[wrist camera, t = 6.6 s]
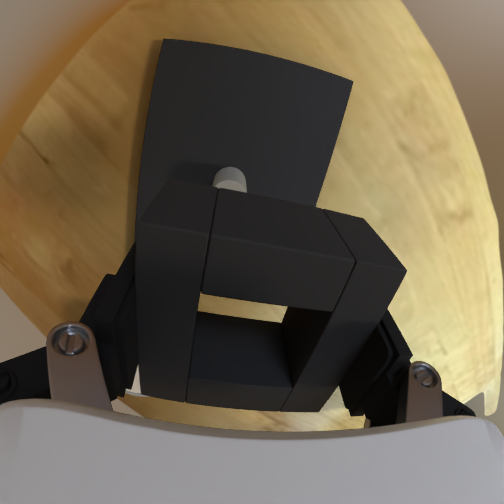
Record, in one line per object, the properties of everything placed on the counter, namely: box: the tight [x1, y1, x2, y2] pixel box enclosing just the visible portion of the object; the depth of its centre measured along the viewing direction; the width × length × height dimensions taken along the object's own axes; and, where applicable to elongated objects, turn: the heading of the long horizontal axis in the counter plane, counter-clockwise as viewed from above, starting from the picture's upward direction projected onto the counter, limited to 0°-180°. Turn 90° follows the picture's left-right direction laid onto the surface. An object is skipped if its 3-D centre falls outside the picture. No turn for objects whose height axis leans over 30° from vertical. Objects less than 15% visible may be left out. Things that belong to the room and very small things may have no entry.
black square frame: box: [135, 179, 407, 412], centre depth 10 cm, size 7×7×4 cm
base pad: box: [135, 39, 353, 242], centre depth 21 cm, size 20×14×5 cm
